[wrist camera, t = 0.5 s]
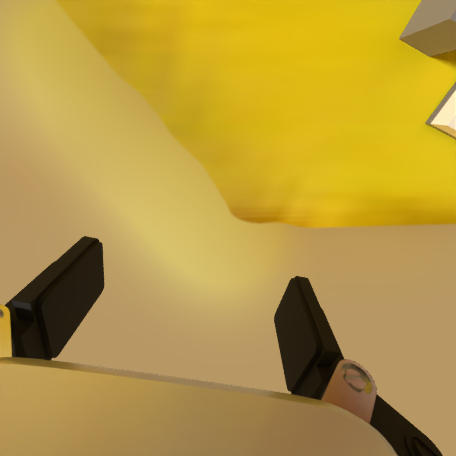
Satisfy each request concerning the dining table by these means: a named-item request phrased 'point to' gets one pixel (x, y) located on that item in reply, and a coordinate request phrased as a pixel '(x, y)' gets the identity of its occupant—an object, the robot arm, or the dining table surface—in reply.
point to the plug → (432, 27)
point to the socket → (445, 114)
